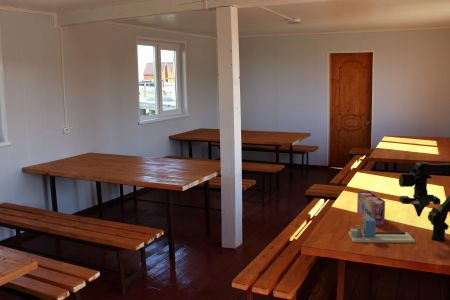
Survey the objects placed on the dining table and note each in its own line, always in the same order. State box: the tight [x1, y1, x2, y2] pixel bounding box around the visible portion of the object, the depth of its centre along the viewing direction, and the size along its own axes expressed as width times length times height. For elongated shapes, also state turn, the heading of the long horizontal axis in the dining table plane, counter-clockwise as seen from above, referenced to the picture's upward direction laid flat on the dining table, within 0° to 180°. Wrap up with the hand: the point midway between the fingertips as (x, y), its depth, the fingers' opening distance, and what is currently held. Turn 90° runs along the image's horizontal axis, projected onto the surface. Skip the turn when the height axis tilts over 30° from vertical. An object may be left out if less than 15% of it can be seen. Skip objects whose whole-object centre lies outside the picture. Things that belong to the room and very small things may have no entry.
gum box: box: [356, 190, 386, 226], centre depth 270 cm, size 24×8×14 cm, turn 5°
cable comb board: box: [348, 224, 416, 244], centre depth 240 cm, size 30×12×6 cm, turn 86°
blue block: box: [362, 218, 376, 237], centre depth 240 cm, size 5×4×8 cm
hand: (418, 216), depth 237 cm, fingers closed
